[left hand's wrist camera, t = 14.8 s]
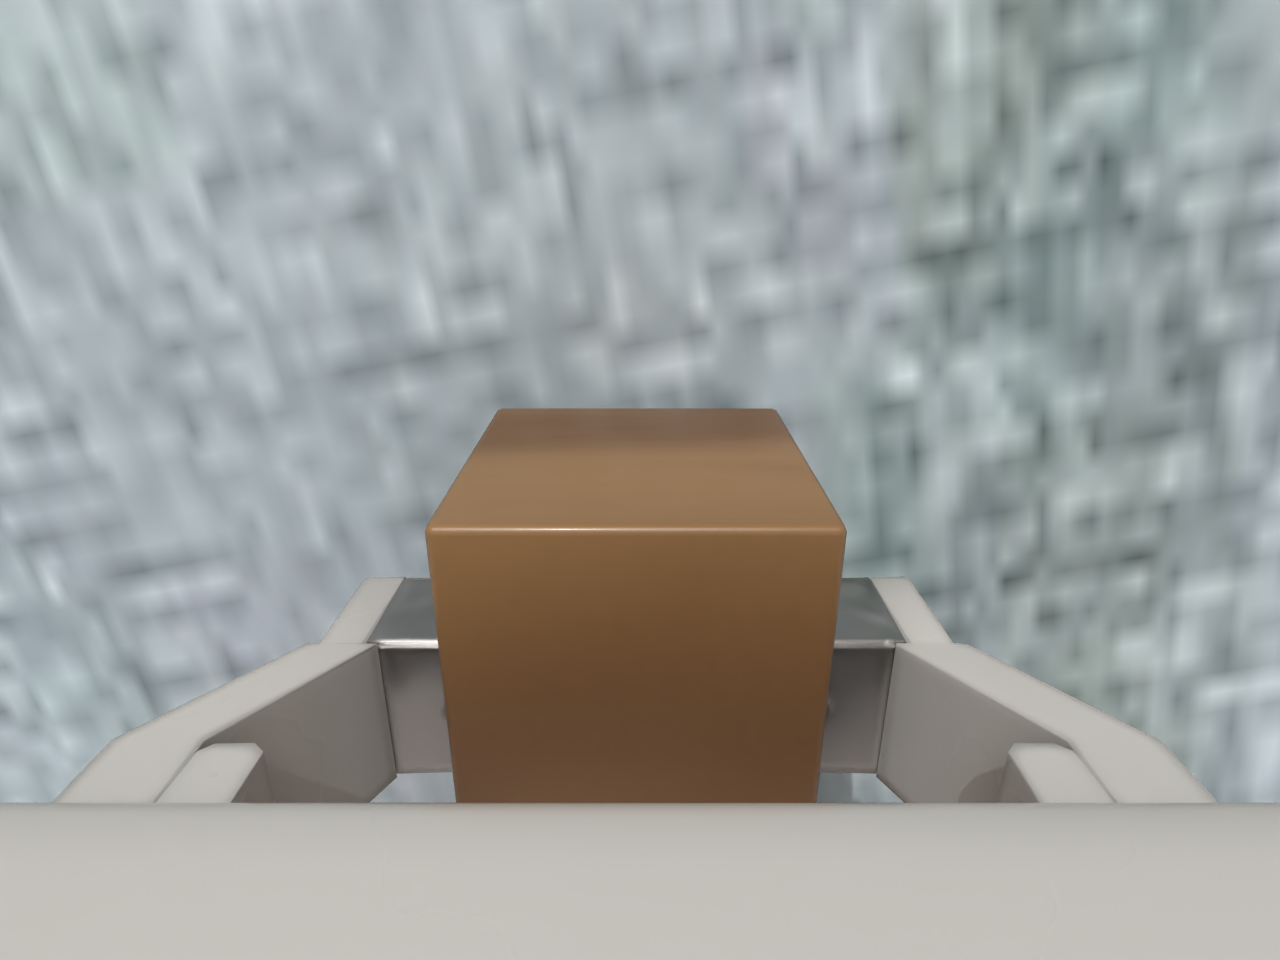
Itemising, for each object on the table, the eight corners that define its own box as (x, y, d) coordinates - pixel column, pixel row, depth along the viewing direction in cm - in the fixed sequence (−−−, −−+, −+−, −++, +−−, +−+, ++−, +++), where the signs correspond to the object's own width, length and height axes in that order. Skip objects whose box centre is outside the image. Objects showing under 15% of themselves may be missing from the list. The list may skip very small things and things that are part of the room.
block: (496, 407, 11) (420, 527, 7) (777, 406, 11) (850, 527, 7) (518, 701, 13) (467, 920, 9) (756, 701, 13) (805, 919, 9)
